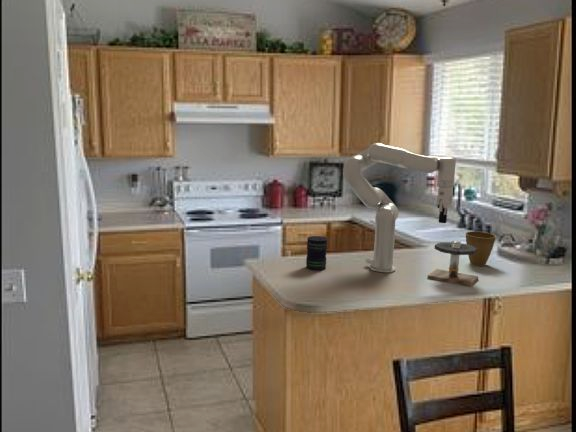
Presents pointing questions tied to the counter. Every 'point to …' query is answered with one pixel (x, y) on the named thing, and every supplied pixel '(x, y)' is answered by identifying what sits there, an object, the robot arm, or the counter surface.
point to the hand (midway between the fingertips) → (442, 222)
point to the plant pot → (480, 246)
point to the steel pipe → (454, 260)
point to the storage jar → (316, 253)
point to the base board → (460, 279)
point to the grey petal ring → (463, 249)
